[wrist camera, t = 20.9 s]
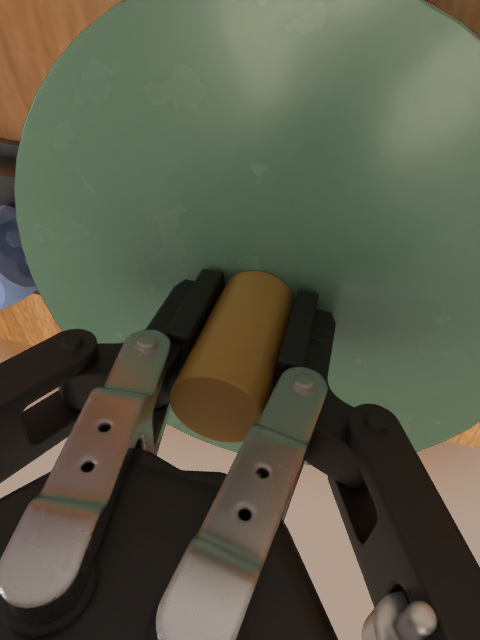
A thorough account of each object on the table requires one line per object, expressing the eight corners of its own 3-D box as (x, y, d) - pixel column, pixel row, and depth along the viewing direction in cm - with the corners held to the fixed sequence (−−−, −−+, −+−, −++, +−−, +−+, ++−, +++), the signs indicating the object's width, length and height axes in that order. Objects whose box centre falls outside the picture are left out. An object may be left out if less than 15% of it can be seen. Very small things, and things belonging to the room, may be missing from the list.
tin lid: (759, 12, 9) (1143, 69, 4) (433, 485, 21) (444, 636, 16) (-32, -77, 12) (-309, -100, 7) (75, 387, 24) (-3, 492, 19)
